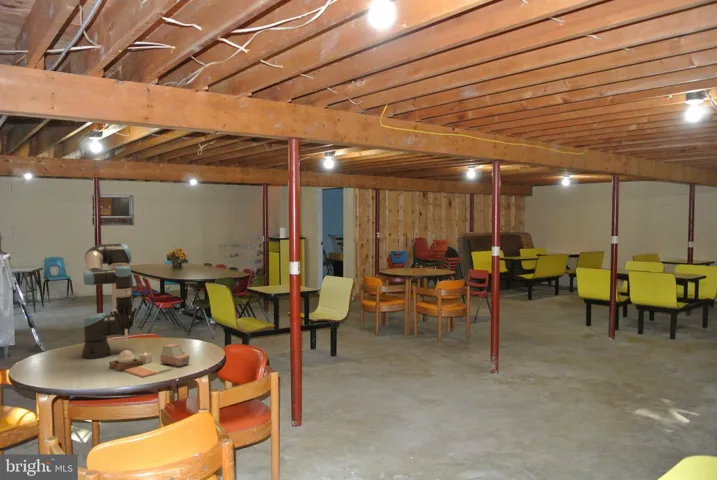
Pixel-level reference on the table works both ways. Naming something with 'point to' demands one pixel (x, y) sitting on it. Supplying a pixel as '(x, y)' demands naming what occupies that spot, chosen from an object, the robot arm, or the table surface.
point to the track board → (148, 370)
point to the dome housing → (125, 365)
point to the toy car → (173, 355)
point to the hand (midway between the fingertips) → (125, 341)
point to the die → (146, 357)
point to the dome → (125, 357)
